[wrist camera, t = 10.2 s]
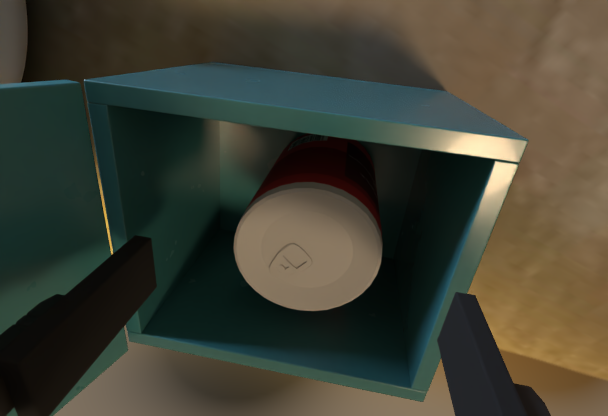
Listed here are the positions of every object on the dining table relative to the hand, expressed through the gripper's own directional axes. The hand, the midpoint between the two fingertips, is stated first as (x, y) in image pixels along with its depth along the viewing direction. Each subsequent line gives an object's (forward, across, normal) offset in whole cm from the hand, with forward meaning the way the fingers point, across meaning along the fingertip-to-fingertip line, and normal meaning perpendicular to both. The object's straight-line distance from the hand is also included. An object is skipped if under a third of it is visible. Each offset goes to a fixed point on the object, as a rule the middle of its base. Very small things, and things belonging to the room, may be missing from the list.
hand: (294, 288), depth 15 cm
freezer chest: (+15, -1, 0) cm, 15 cm away
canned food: (+14, 0, 0) cm, 14 cm away
